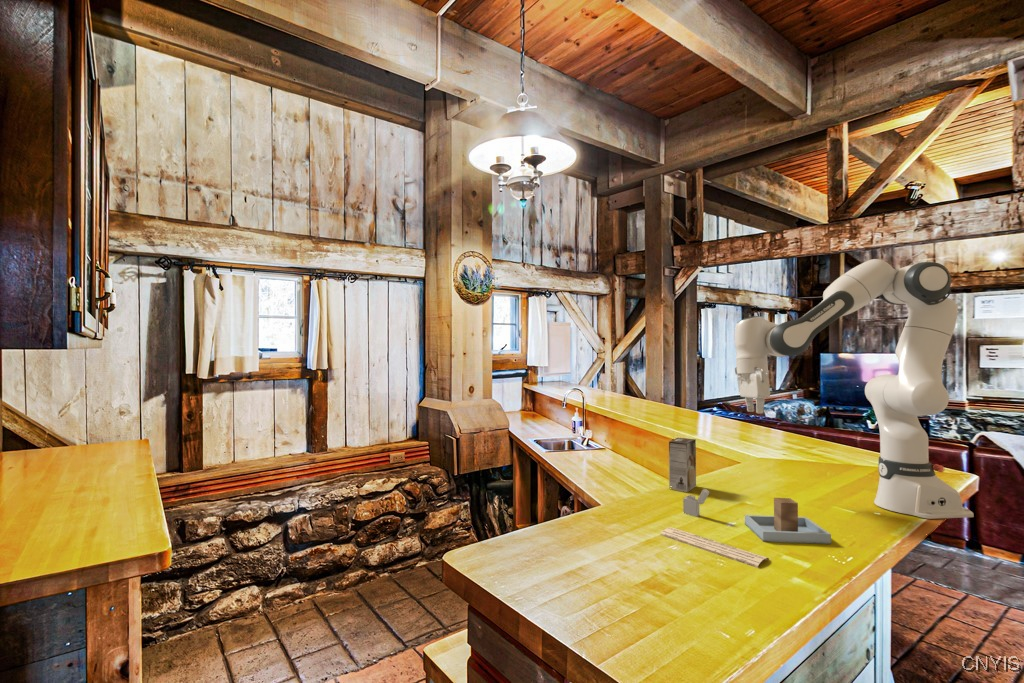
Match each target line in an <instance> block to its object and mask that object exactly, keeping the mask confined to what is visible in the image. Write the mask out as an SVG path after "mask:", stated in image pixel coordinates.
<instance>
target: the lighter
mask: <svg viewBox="0 0 1024 683" xmlns="http://www.w3.org/2000/svg"><path fill="white" fill-rule="evenodd" d="M709 494H710V491H709V490H708V489H707V488H703V489H702V490H701V491H700V494H699V496H698V498H697V499H696V496H695V495H691V494H687V495H686V496H685V497H683V498H682V499H683V500H682V504H683V506H682V507H683V509H682V510H683V511H682V512H684V513H683V514H685V513H686V514H685V515H688V514H689V515H688V516H691V515H692V517H695V518H697V517H700V505H703V504H704V503H705V502H706V500H707V498H708V496H709Z"/></svg>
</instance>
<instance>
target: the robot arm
mask: <svg viewBox="0 0 1024 683" xmlns="http://www.w3.org/2000/svg"><path fill="white" fill-rule="evenodd" d="M951 284H952V277H951V273H950V271H949V270H948V268H947V267H946V266H945V265H944V264H941V263H940V262H939V263H938V262H933V261H921V262H916V263H915V264H914V263H913V264H910V265H906V266H903V267H900V268H896V269H895V268H893V266H892V265H891V264H889V262H887V261H885V260H884V259H879V258H873V259H868V260H866V261H864V262H862V263H860V264H858V265H856V266H853V267H852V268H850V269H849V270H847V271H846V272H845V273H843V274H841V275H840V276H839V277H837V278H836V279H835V280H834V281H833V282H831V284H830V285H828V286H827V287H826V288H825V290H824V291H823V294H822V299H823V300H821V302H819V303H818V304H817V305H816V306H814V307H812V308H811V309H810V310H809V311H807V312H806V313H805V314H804V315H802V316H801V317H799V318H796V319H792V320H788V321H784V322H781V323H780V324H777V323H774V322H771V321H769V320H767V319H765V318H764V317H762V316H760V315H754V316H749V317H745V318H743V319H740V320H739V321H737V322H736V324H735V326H734V327H735V329H734V346H735V349H736V356H735V363H736V365H735V368H734V373H735V375H736V379H737V380H736V382H737V387H738V393H739V396H740V397H741V398H744V401H745V405H746V411H747V412H750V413H754V412H755V413H756V414H764V412H765V410H764V409H765V408H764V406H765V399H770V395H771V389H770V381H769V376H768V374H769V363H768V356H773V357H778V358H782V357H793V356H794V357H795V356H798V355H801V354H803V353H804V352H806V351H807V349H808V348H809V347H810V346H811V343H812V341H813V339H814V338H815V337H816V336H817V335H818V334H819V333H821V331H823V330H824V329H825V328H827V327H828V326H830V325H831V324H832V323H834V322H835V321H837V320H838V319H840V318H841V317H844V316H848V315H850V314H853V313H854V312H856V311H859V310H860V309H861V308H863V307H865V306H867V305H868V304H869V303H871V302H872V301H873V300H875V299H876V298H877V297H878V298H879V299H880V300H882V301H883V302H884V303H887V304H890V305H895V306H901V305H906V306H907V308H908V315H907V316H908V317H907V320H906V321H905V324H904V327H903V329H902V332H901V333H900V337H899V339H898V342H897V344H896V347H895V350H894V353H895V355H896V358H897V359H898V372H897V374H883V375H878V376H874V377H872V378H871V379H869V380H868V382H866V384H865V386H864V395H865V397H866V399H867V401H869V403H870V404H871V406H872V409H873V411H874V414H875V419H876V422H877V424H878V429H879V430H878V431H879V451H880V454H879V455H880V456H879V457H878V475H879V481H878V486H877V492H876V495H875V498H874V500H873V504H875V505H876V506H878V507H879V508H882V509H885V510H888V511H891V512H896V513H900V514H904V515H910V516H915V517H918V518H923V519H927V520H929V519H955V518H956V519H957V518H958V519H959V518H960V519H961V518H964V519H965V518H974V517H975V516H974V512H973V511H971V510H970V509H968V508H966V507H964V506H963V501H962V497H961V495H960V493H959V491H958V490H957V489H955V488H954V487H952V486H951V485H950V484H948V483H947V482H945V481H944V480H943V479H941V478H940V477H938V476H937V475H936V472H938V473H941V474H942V473H944V472H945V470H946V469H945V467H944V465H939V464H938V463H937V464H936V463H935V464H933V463H932V462H930V461H929V458H930V456H929V455H930V454H929V436H928V435H929V434H928V433H927V432H926V430H925V429H924V428H923V427H922V425H921V423H920V420H919V418H918V417H919V416H920V417H921V416H924V417H925V416H933V415H937V414H940V413H941V412H943V411H945V409H946V408H947V406H948V405H949V400H950V396H949V393H948V390H947V389H946V387H945V385H944V383H943V375H942V370H943V362H944V359H945V357H946V353H947V350H948V348H949V345H950V342H951V340H952V337H953V334H954V331H955V328H956V323H957V318H958V305H957V303H956V302H955V301H954V300H953V299H950V298H948V297H950V296H951V294H952V290H951V286H952V285H951ZM754 399H755V404H756V405H755V406H754Z"/></svg>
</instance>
